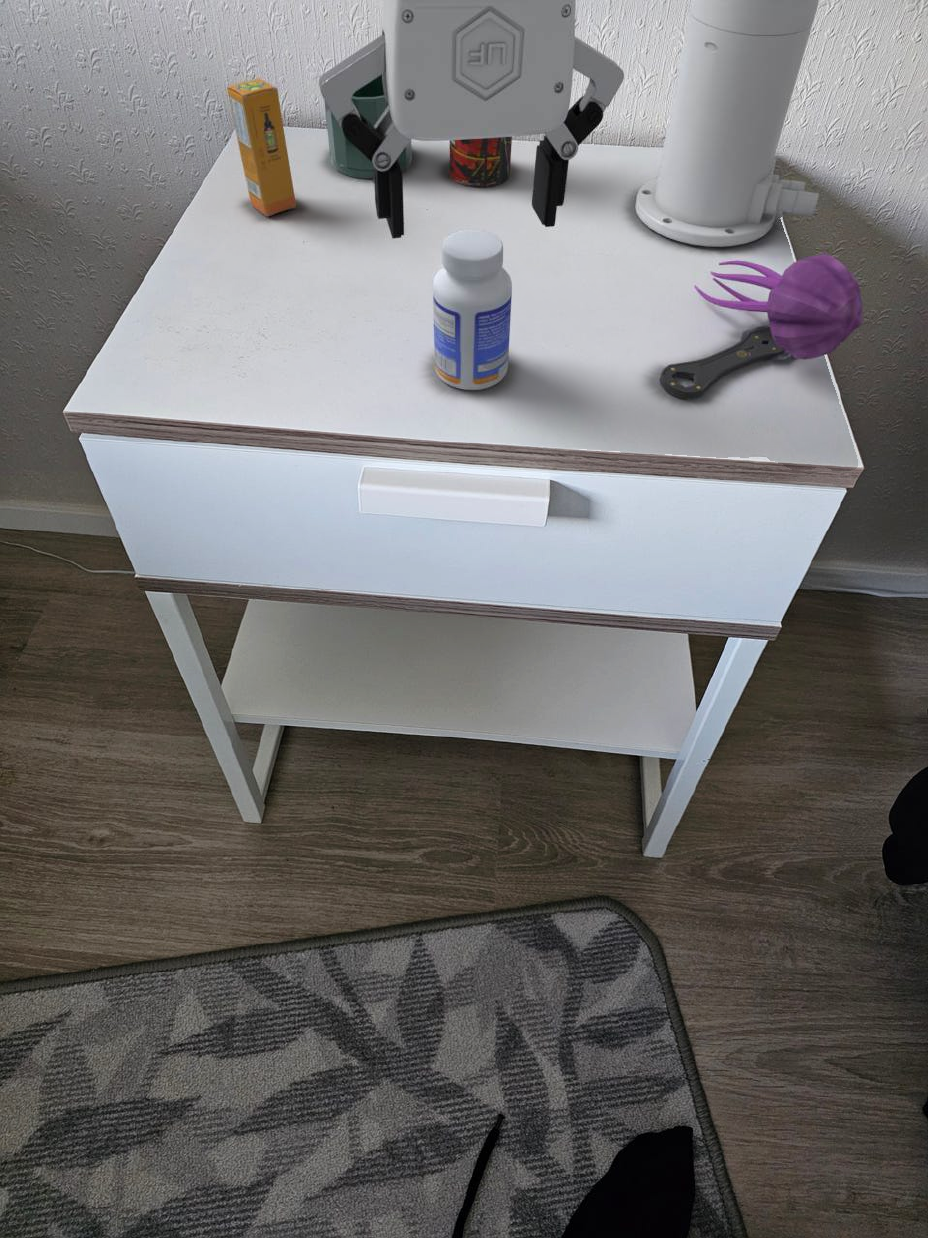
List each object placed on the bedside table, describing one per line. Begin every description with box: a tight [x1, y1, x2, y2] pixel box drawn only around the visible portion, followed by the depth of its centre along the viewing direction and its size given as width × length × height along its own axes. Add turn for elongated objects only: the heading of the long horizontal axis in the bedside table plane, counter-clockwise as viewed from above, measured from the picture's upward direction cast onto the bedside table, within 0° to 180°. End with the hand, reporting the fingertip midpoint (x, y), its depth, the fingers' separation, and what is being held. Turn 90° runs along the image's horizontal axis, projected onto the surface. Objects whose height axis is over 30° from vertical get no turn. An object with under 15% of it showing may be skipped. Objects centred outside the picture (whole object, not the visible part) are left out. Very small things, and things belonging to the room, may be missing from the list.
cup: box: [323, 75, 413, 180], centre depth 81 cm, size 8×8×7 cm
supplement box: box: [226, 77, 297, 218], centre depth 74 cm, size 3×3×10 cm
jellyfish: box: [693, 253, 863, 360], centre depth 63 cm, size 7×7×15 cm
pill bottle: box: [432, 229, 513, 391], centre depth 59 cm, size 5×5×10 cm
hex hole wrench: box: [659, 323, 792, 400], centre depth 65 cm, size 4×20×1 cm, turn 125°
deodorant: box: [449, 137, 513, 188], centre depth 77 cm, size 6×6×15 cm
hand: (469, 222), depth 53 cm, fingers open, 9 cm apart
